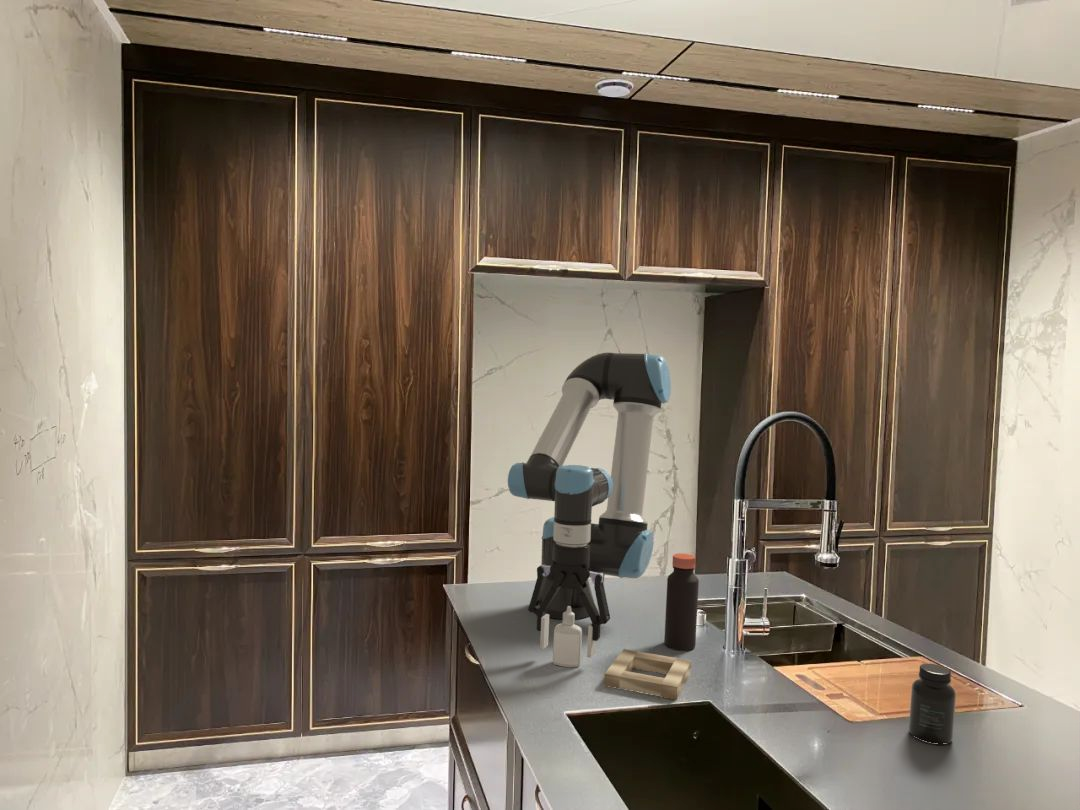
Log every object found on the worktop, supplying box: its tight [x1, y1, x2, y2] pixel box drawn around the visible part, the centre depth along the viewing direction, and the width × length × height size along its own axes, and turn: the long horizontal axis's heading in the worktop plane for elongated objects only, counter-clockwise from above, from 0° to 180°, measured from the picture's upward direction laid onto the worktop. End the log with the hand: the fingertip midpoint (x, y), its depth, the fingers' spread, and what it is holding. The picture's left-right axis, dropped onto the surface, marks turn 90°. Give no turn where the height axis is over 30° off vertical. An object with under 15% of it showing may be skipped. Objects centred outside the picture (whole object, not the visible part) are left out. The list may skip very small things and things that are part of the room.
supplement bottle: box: [908, 663, 957, 744], centre depth 139 cm, size 7×7×12 cm
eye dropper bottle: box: [552, 606, 583, 668], centre depth 165 cm, size 4×6×12 cm
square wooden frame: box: [603, 648, 692, 701], centre depth 159 cm, size 14×14×2 cm
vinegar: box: [663, 552, 700, 652], centre depth 177 cm, size 7×7×20 cm
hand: (567, 650), depth 165 cm, fingers open, 9 cm apart
